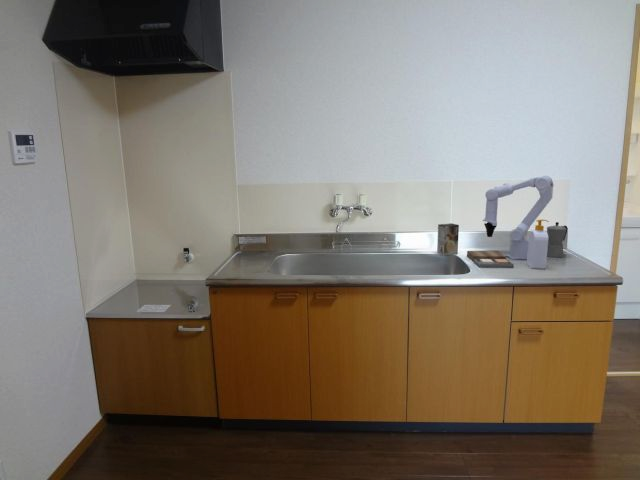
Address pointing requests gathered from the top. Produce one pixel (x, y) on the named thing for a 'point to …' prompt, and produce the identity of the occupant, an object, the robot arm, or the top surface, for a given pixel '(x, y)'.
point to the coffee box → (447, 239)
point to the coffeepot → (556, 240)
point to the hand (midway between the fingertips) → (489, 236)
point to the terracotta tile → (500, 261)
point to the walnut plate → (485, 255)
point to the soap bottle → (537, 247)
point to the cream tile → (486, 261)
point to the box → (509, 265)
